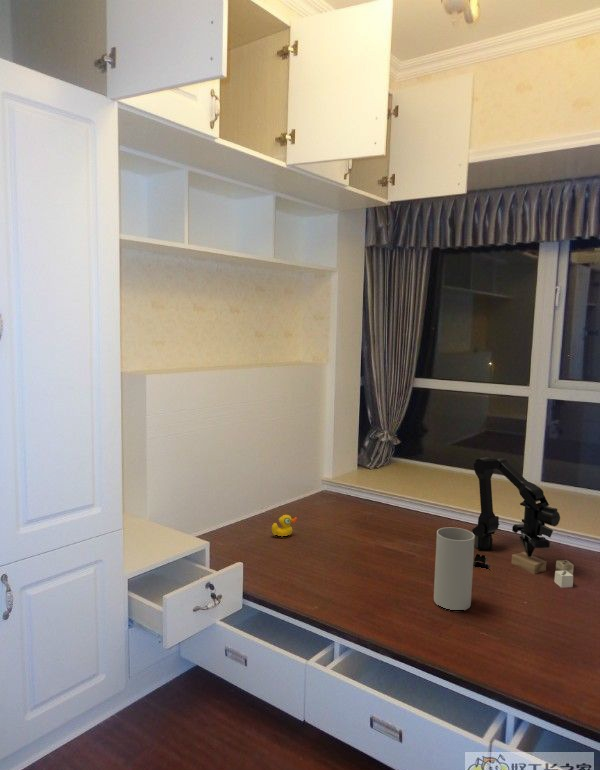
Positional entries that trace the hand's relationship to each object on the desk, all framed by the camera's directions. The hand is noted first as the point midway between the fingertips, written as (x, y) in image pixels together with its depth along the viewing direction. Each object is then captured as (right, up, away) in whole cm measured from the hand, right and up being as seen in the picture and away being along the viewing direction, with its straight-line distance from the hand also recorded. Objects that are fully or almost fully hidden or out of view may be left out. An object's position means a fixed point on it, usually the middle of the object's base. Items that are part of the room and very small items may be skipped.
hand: (529, 556), depth 229 cm
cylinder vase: (-39, -7, -31) cm, 51 cm away
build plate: (-19, -5, +1) cm, 20 cm away
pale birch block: (+12, -5, -5) cm, 14 cm away
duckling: (-99, 0, +27) cm, 103 cm away
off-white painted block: (+7, -6, -15) cm, 17 cm away
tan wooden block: (0, -5, 0) cm, 5 cm away
